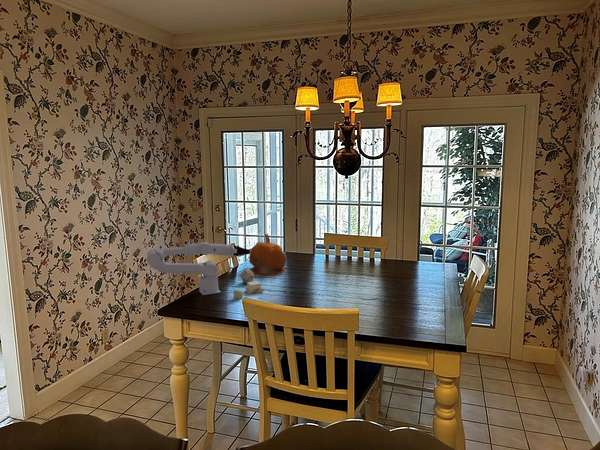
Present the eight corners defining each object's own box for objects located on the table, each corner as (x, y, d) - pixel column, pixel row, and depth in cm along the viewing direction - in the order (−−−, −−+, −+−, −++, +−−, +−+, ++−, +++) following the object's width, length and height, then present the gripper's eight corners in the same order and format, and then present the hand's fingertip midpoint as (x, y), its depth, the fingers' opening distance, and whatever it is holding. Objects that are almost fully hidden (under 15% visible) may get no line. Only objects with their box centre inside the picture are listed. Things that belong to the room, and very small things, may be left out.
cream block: (250, 289, 226) (250, 285, 226) (247, 287, 231) (247, 282, 231) (261, 288, 229) (260, 283, 228) (257, 285, 234) (257, 280, 233)
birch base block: (250, 295, 226) (250, 290, 226) (245, 291, 232) (245, 286, 232) (263, 293, 229) (263, 288, 229) (258, 289, 235) (258, 284, 235)
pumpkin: (267, 263, 288) (266, 229, 285) (295, 270, 271) (294, 233, 268) (240, 270, 272) (239, 234, 269) (268, 278, 255) (267, 239, 252)
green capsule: (235, 300, 217) (234, 292, 216) (232, 297, 221) (232, 290, 220) (243, 299, 219) (243, 291, 218) (241, 296, 222) (240, 288, 222)
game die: (251, 288, 247) (261, 274, 248) (245, 287, 239) (256, 272, 240) (239, 279, 250) (249, 265, 251) (233, 278, 242) (243, 263, 243)
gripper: (225, 242, 223) (251, 244, 227) (221, 241, 236) (246, 243, 241) (223, 256, 222) (250, 258, 226) (220, 255, 236) (245, 256, 240)
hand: (248, 251), depth 233 cm, fingers open, 7 cm apart
